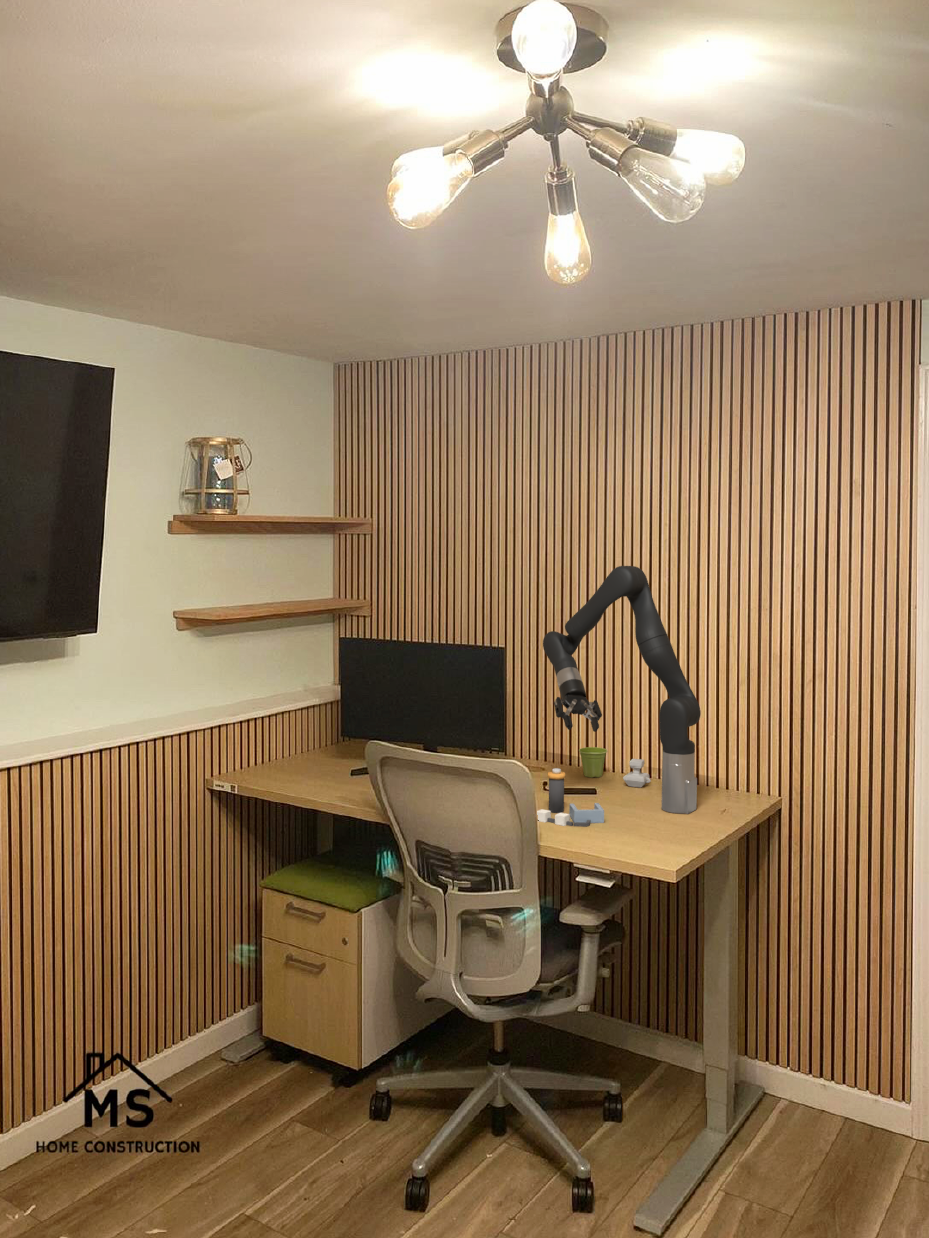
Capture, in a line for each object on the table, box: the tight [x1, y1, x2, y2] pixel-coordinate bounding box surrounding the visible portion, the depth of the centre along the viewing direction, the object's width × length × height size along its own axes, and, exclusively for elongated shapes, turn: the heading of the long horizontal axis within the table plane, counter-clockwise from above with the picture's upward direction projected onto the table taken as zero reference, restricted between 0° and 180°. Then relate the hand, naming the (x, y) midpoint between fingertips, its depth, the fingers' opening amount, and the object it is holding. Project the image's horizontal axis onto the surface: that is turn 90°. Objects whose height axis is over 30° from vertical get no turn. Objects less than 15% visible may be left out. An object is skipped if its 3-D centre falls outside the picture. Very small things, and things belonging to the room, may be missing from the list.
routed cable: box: [536, 808, 592, 827], centre depth 282 cm, size 15×7×3 cm, turn 54°
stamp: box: [622, 758, 651, 788], centre depth 322 cm, size 9×7×8 cm
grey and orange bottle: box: [547, 767, 566, 814], centre depth 293 cm, size 5×5×12 cm
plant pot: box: [578, 746, 608, 778], centre depth 336 cm, size 9×9×9 cm
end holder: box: [568, 802, 605, 824], centre depth 286 cm, size 8×8×4 cm
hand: (583, 729), depth 298 cm, fingers open, 8 cm apart
